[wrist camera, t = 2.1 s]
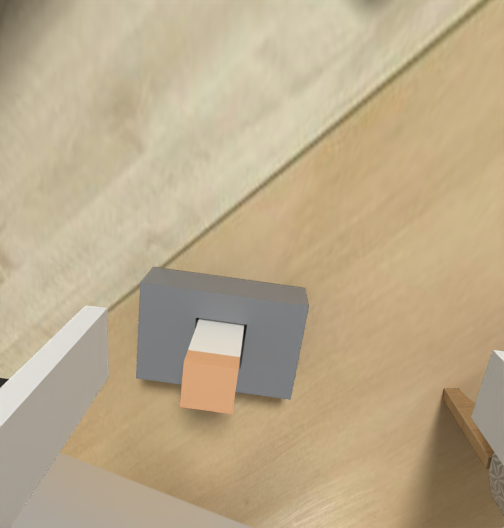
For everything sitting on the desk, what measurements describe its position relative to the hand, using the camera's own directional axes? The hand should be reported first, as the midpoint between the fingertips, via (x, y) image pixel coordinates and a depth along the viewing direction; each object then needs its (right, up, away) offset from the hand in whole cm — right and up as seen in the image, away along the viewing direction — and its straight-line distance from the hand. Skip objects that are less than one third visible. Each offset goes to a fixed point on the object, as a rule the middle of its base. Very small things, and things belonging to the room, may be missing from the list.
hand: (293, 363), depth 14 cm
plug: (-5, -4, +35) cm, 36 cm away
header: (-5, -4, +36) cm, 37 cm away
